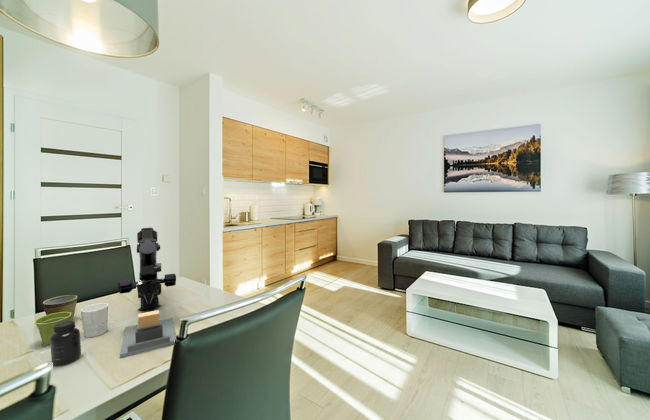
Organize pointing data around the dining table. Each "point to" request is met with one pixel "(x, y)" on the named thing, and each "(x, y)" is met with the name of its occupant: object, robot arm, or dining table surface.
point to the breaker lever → (148, 320)
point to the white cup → (94, 319)
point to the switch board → (147, 338)
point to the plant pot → (50, 324)
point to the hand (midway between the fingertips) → (149, 303)
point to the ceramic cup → (61, 305)
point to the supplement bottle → (65, 343)
